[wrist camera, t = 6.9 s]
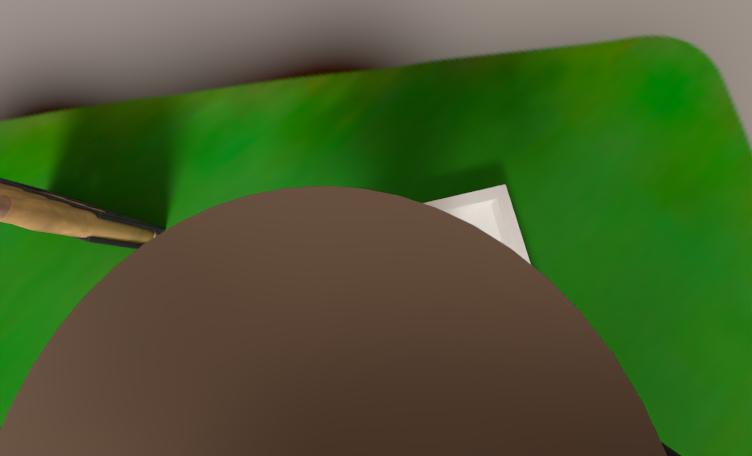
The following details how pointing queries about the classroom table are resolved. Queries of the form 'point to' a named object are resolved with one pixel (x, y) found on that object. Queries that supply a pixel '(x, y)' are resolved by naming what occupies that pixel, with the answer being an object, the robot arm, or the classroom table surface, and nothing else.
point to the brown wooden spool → (326, 344)
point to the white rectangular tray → (487, 215)
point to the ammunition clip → (70, 217)
